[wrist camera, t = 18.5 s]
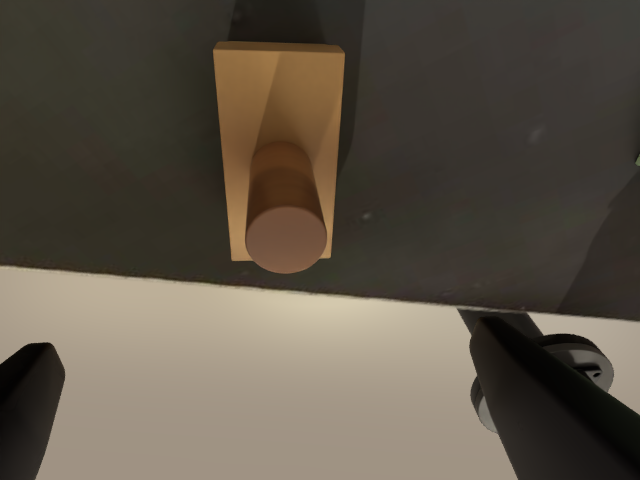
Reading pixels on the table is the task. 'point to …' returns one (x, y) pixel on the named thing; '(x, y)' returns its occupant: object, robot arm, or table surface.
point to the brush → (279, 148)
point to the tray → (638, 160)
